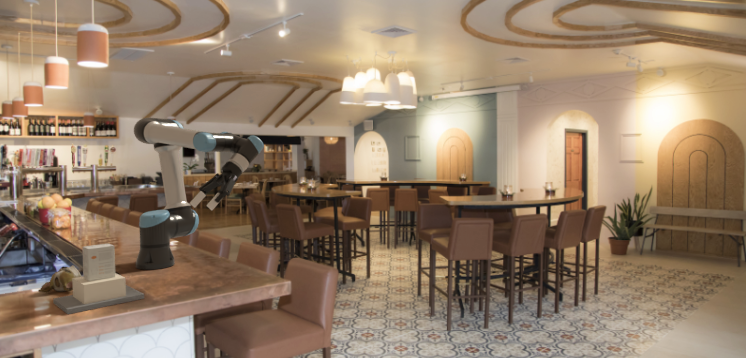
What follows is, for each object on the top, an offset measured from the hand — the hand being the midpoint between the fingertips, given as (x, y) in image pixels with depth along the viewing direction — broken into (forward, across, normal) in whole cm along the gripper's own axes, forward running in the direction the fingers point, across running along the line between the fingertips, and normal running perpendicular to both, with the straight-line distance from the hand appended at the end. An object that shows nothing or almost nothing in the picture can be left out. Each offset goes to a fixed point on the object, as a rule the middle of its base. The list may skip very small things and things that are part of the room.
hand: (200, 206), depth 182 cm
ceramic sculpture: (+49, +20, +9) cm, 53 cm away
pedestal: (+46, -3, +6) cm, 46 cm away
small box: (+40, -3, +11) cm, 42 cm away
